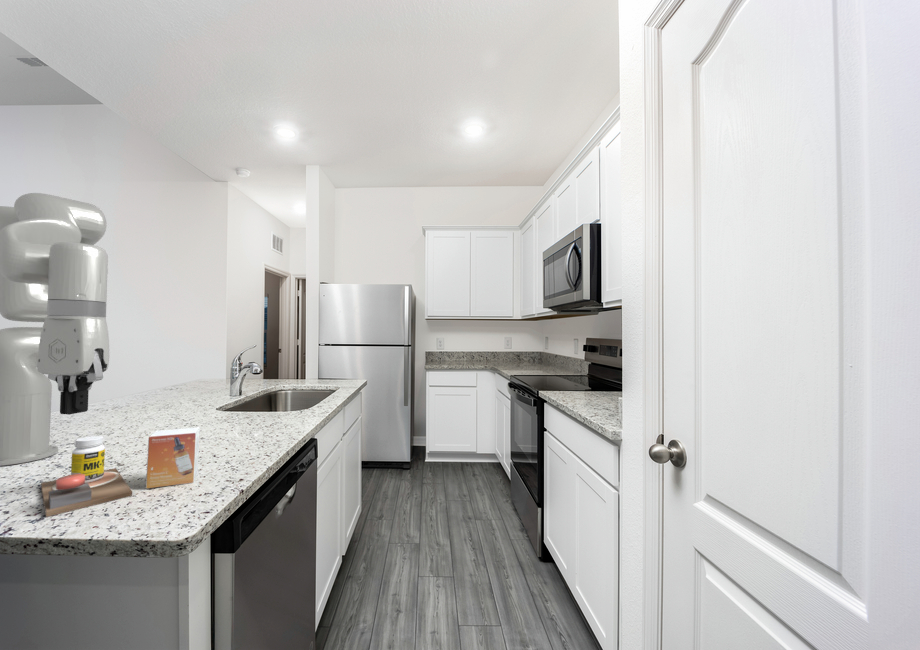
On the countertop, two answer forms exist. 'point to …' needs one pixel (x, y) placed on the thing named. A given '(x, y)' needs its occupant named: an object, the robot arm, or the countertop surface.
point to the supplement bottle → (89, 458)
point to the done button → (70, 481)
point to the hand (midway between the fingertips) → (74, 412)
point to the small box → (172, 457)
